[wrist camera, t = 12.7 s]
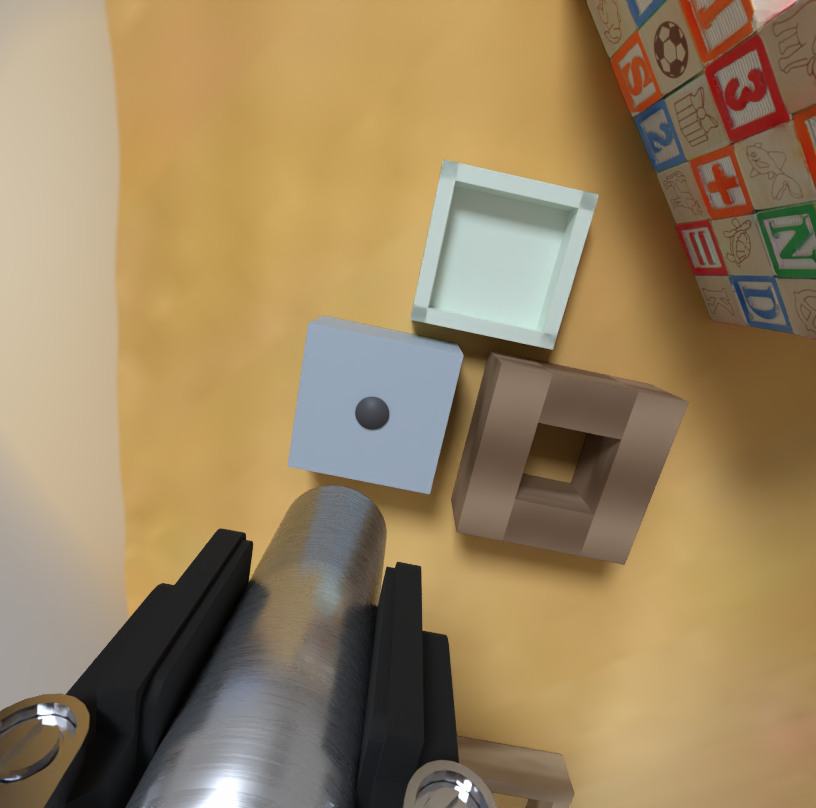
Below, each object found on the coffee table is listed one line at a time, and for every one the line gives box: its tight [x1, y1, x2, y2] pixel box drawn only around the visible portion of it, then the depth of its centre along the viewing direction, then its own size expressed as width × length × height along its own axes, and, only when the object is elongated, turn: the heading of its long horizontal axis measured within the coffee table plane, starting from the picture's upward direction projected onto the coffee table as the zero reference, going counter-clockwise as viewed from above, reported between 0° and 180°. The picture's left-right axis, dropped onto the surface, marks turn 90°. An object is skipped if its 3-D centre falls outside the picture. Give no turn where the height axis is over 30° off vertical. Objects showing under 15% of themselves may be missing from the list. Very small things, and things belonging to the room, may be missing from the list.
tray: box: [411, 160, 599, 350], centre depth 25 cm, size 8×8×2 cm
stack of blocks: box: [587, 0, 816, 339], centre depth 18 cm, size 21×6×12 cm, turn 30°
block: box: [288, 316, 464, 494], centre depth 26 cm, size 8×8×4 cm
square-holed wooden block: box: [451, 351, 689, 565], centre depth 27 cm, size 10×10×4 cm
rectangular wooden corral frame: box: [457, 736, 574, 808], centre depth 35 cm, size 12×25×3 cm, turn 78°
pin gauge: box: [126, 486, 387, 808], centre depth 8 cm, size 3×3×10 cm
